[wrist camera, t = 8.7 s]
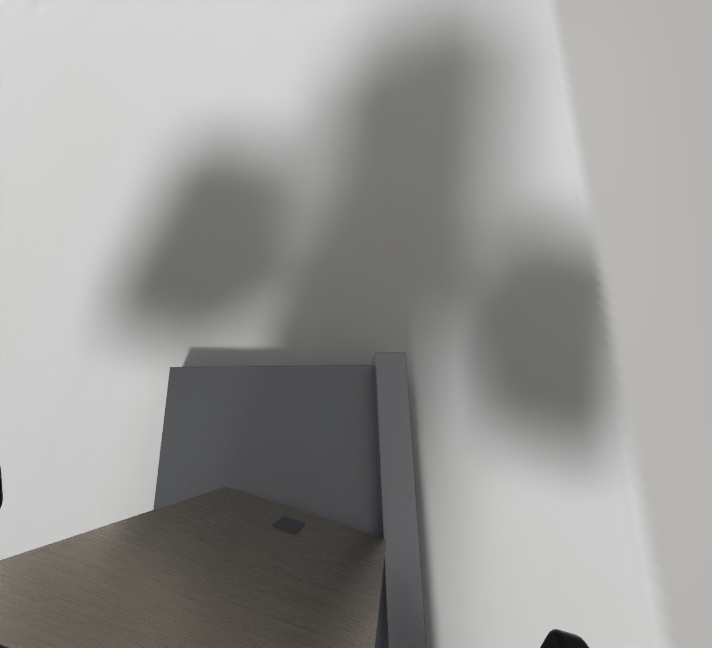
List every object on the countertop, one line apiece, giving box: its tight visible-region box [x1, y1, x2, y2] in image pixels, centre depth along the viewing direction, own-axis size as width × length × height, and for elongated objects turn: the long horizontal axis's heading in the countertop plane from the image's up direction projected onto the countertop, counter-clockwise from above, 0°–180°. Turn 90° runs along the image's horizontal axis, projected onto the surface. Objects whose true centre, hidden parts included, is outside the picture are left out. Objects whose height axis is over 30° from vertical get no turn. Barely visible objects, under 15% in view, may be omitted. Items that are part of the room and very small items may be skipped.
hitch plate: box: [154, 352, 426, 648], centre depth 14 cm, size 14×8×2 cm, turn 2°
